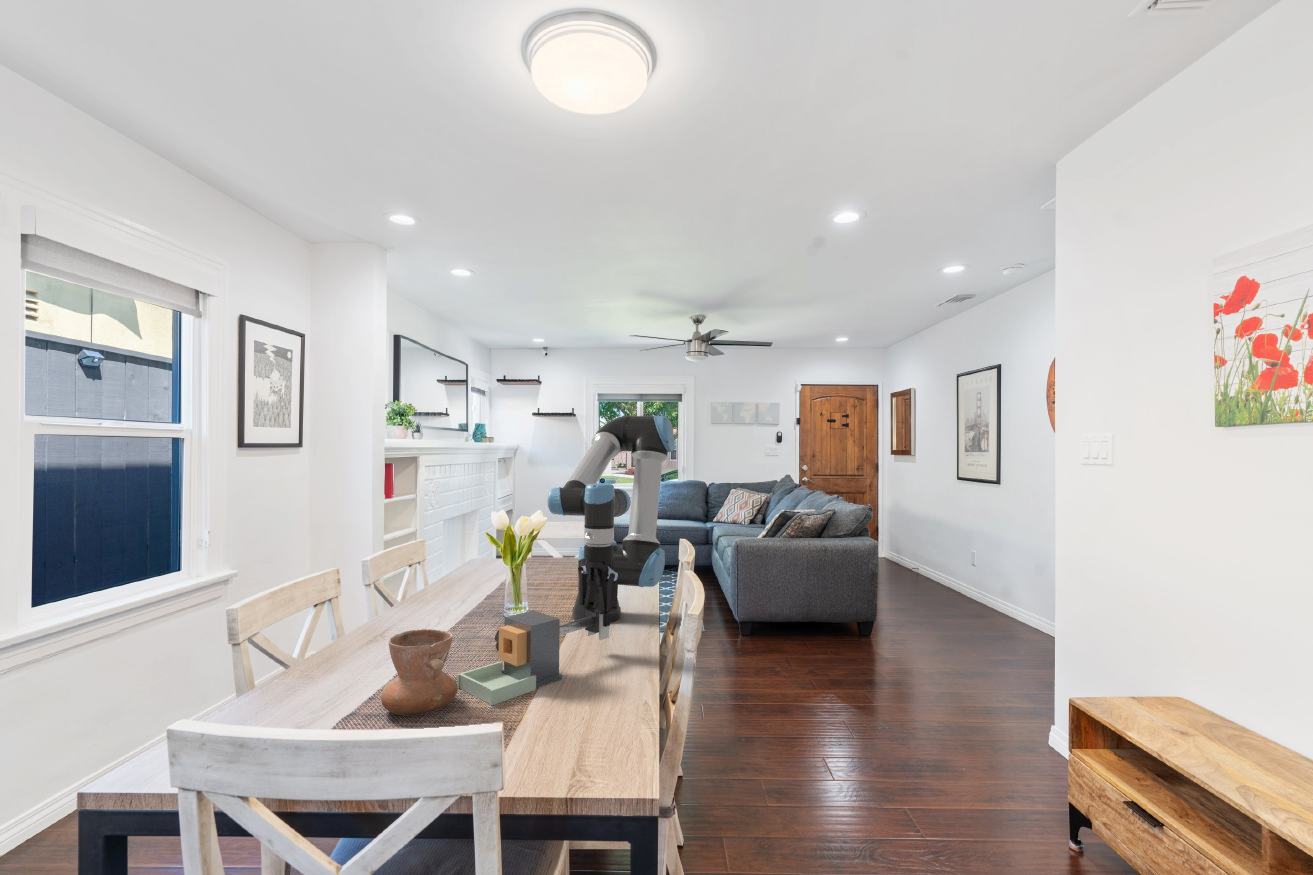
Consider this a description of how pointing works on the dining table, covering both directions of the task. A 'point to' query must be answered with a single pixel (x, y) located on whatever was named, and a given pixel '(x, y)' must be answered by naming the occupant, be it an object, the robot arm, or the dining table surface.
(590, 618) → the shaft
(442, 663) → the ceramic jug
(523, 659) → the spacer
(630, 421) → the robot arm
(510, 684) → the tray
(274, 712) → the dining table surface
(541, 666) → the bearing block
